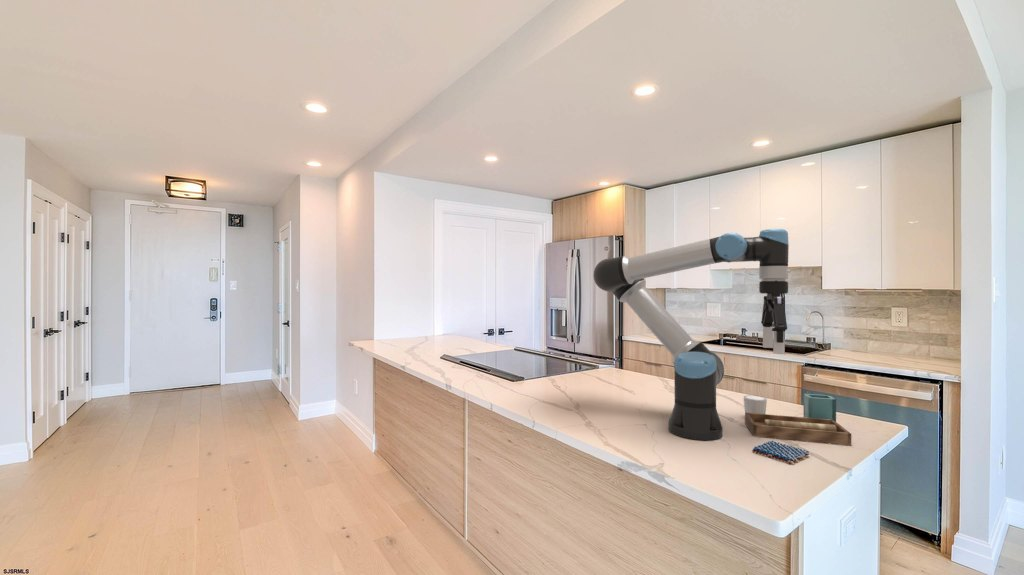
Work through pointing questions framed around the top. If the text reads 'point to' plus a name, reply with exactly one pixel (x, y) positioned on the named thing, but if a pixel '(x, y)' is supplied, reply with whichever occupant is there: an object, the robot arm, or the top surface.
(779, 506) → the top surface
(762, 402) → the shot glass
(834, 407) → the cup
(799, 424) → the dowel
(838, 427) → the tray
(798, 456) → the woven mat
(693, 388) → the robot arm
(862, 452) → the top surface
